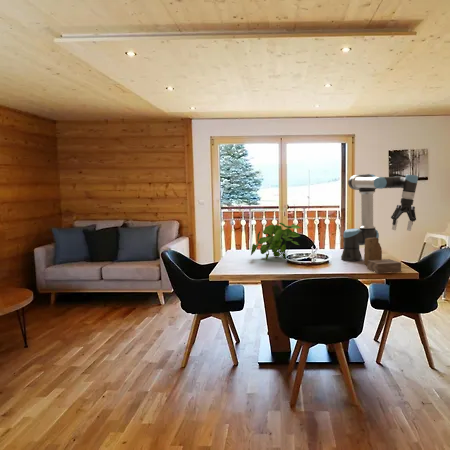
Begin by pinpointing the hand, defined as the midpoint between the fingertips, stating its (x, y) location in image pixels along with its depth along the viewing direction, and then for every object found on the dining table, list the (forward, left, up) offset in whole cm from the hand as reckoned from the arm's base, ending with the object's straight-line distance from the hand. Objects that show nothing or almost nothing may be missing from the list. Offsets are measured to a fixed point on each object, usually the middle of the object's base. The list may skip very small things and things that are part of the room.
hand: (401, 230), depth 271 cm
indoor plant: (-61, -68, -27) cm, 95 cm away
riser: (-1, -12, -26) cm, 29 cm away
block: (-17, -11, -27) cm, 33 cm away
